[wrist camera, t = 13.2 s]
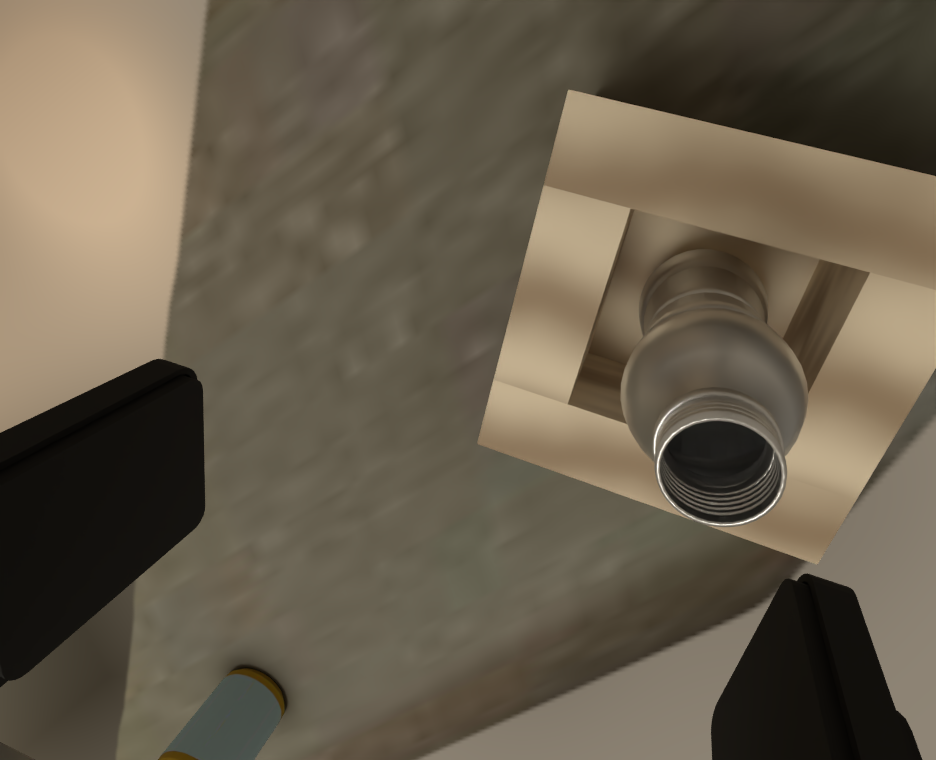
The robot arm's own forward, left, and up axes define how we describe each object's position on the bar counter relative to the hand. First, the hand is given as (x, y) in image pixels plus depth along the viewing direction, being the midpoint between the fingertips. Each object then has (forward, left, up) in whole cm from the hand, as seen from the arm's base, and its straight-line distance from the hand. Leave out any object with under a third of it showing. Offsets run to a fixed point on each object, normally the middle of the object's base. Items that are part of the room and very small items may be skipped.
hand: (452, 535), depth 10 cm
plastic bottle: (+2, +5, -30) cm, 30 cm away
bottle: (+53, -21, -31) cm, 65 cm away
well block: (+2, +5, -31) cm, 31 cm away
